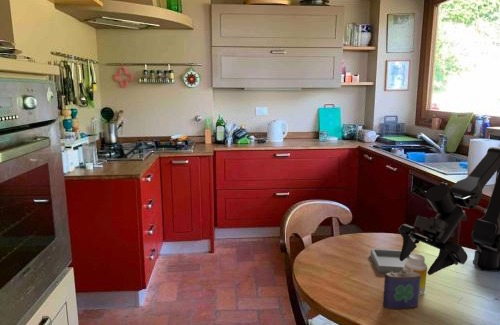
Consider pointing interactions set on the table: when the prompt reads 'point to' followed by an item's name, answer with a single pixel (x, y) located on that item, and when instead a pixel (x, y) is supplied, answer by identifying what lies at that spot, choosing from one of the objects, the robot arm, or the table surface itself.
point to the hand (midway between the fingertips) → (413, 266)
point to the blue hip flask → (401, 290)
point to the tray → (388, 260)
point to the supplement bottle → (417, 269)
